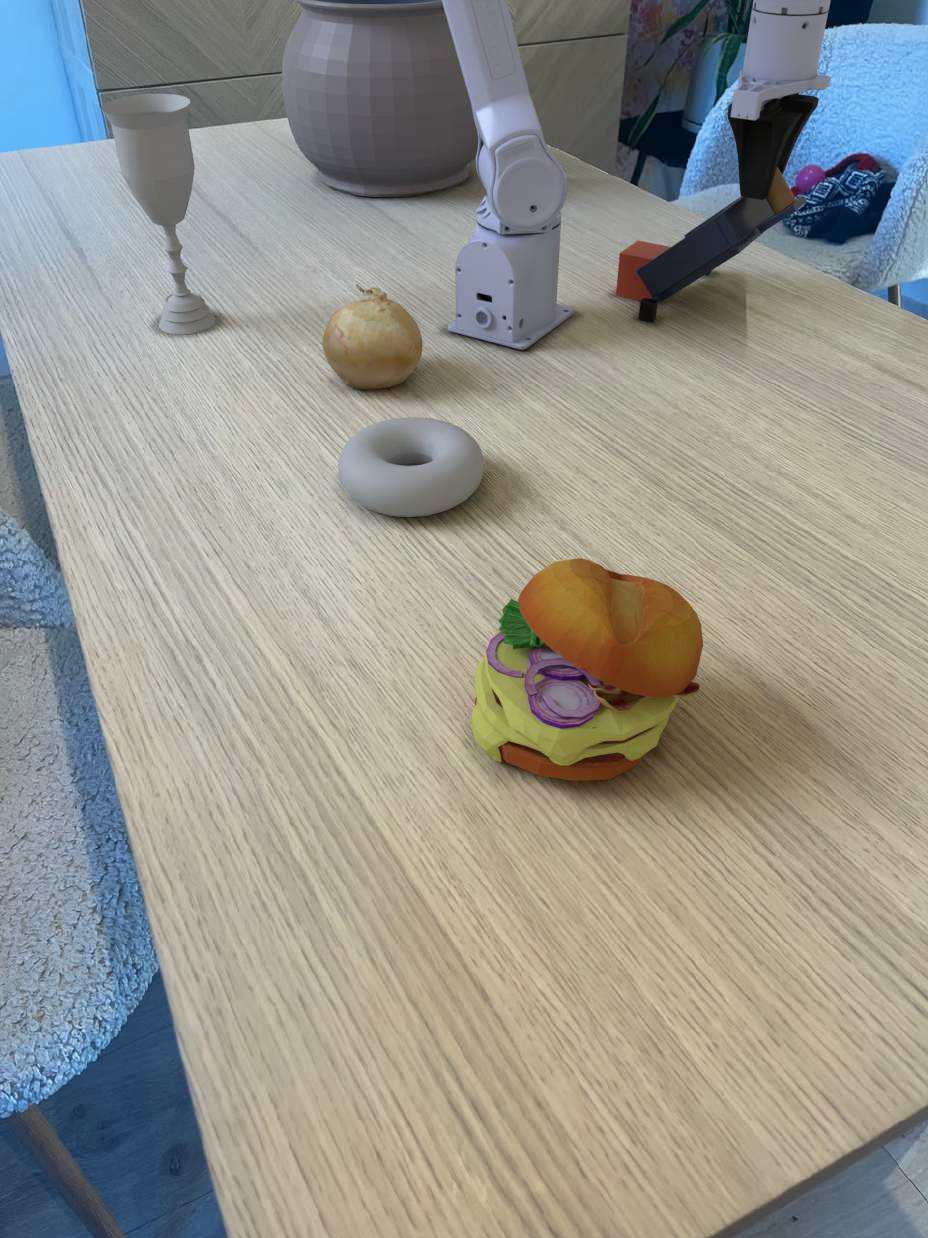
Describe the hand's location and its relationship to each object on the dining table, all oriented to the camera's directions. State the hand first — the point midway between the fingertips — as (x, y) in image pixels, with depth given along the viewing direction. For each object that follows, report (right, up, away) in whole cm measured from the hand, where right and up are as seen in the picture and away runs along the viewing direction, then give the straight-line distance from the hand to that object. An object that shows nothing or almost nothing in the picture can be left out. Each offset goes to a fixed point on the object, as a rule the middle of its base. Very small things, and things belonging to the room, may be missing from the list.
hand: (758, 192), depth 86 cm
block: (-6, -5, +8) cm, 11 cm away
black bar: (-5, -6, +9) cm, 12 cm away
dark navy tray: (-1, -4, +4) cm, 5 cm away
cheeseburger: (-19, -42, -34) cm, 57 cm away
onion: (-33, -17, -4) cm, 37 cm away
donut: (-29, -27, -17) cm, 43 cm away
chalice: (-50, -10, +5) cm, 51 cm away
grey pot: (-34, +18, +39) cm, 55 cm away
